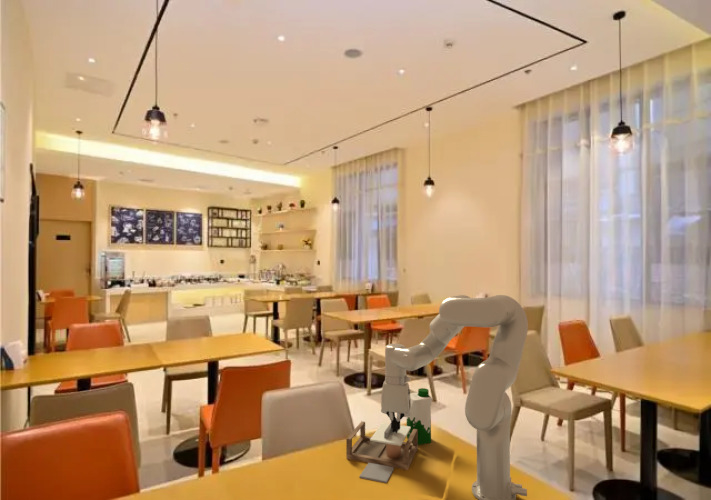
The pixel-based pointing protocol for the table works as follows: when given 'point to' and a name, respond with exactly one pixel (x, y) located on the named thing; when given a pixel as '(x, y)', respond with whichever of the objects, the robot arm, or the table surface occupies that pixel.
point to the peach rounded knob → (393, 451)
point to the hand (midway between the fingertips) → (395, 430)
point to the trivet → (377, 472)
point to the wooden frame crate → (380, 449)
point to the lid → (390, 434)
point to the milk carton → (420, 415)
